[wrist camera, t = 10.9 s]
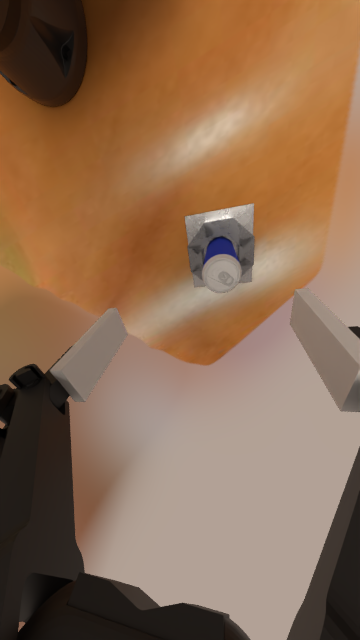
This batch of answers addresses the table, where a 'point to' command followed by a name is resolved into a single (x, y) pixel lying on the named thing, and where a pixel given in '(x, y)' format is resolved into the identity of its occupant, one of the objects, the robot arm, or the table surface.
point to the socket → (221, 224)
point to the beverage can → (221, 266)
